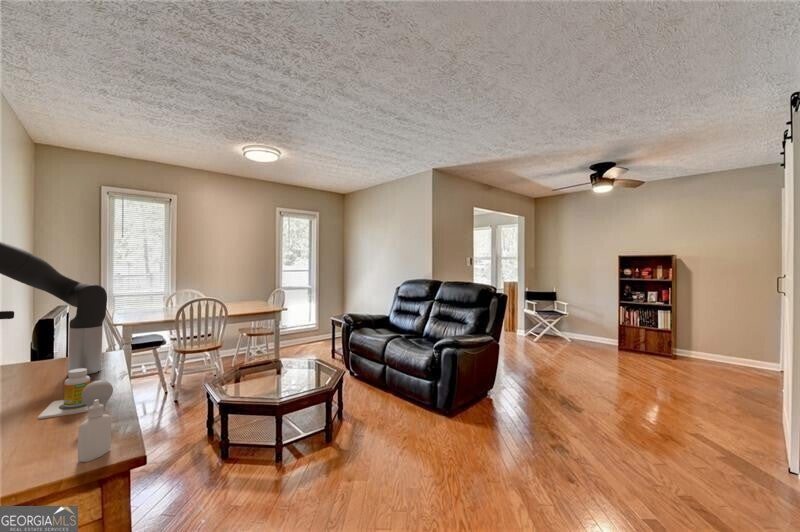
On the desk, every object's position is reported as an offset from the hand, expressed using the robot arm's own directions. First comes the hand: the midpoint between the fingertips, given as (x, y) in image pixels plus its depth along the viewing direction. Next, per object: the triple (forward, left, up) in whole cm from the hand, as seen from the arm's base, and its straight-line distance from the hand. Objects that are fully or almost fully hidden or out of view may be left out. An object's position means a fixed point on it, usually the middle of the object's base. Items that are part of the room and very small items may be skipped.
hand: (6, 316), depth 93 cm
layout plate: (+5, +16, -26) cm, 31 cm away
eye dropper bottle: (+40, +26, -26) cm, 54 cm away
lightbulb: (+21, +23, -26) cm, 41 cm away
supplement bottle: (+5, +16, -26) cm, 31 cm away
